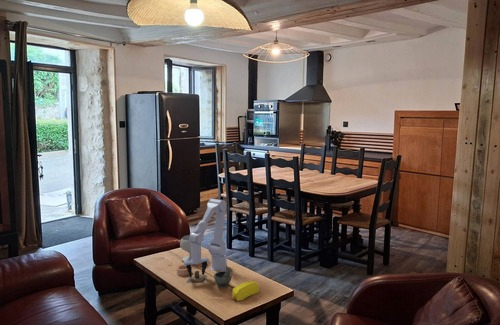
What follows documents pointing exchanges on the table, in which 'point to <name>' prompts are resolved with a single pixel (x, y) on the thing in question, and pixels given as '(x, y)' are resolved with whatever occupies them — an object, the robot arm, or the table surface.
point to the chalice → (186, 247)
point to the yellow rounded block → (245, 290)
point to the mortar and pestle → (223, 278)
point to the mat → (196, 282)
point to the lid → (197, 277)
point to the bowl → (182, 270)
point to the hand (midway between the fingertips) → (196, 275)
